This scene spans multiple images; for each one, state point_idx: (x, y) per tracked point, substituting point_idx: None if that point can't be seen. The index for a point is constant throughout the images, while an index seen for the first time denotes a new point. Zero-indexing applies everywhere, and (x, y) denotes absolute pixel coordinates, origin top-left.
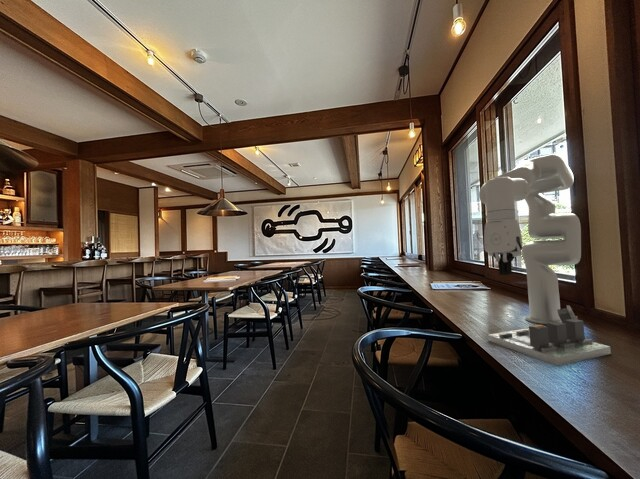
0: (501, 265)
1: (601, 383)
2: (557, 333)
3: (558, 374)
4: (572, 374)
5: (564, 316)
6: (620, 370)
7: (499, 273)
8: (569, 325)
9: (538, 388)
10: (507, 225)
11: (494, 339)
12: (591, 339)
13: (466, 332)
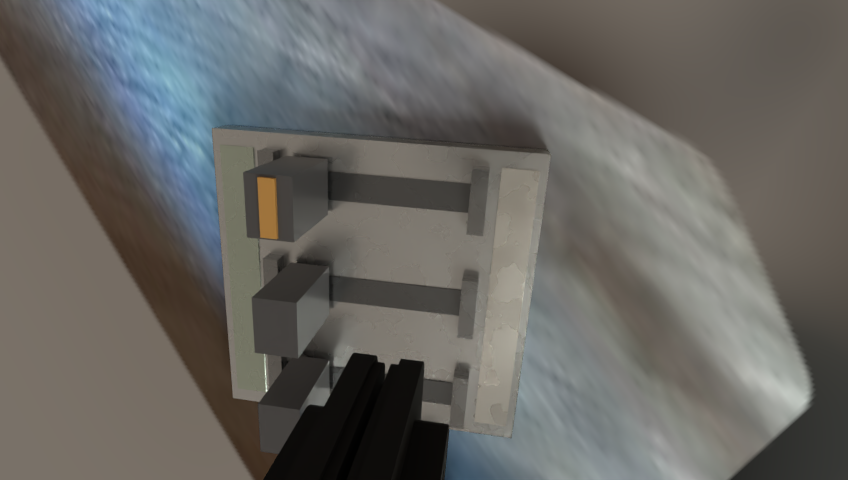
0: (347, 446)
1: (95, 104)
2: (269, 282)
3: (174, 50)
4: (163, 95)
5: None
6: (149, 259)
7: (420, 363)
8: (289, 394)
9: None
10: None
11: (508, 149)
12: None
13: (714, 169)
